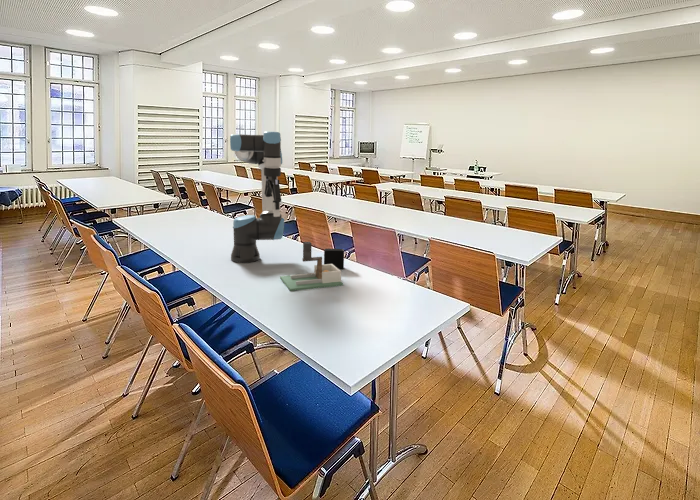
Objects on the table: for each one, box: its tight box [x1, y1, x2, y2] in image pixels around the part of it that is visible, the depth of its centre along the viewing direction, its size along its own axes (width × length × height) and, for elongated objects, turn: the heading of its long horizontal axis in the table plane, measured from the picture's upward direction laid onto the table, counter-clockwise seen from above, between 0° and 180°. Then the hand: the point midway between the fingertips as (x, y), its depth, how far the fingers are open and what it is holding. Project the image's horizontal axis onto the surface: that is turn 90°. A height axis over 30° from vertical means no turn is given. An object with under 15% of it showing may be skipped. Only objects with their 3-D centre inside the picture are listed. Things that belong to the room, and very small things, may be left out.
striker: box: [301, 241, 323, 279], centre depth 202 cm, size 6×9×18 cm, turn 113°
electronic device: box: [323, 248, 345, 271], centre depth 225 cm, size 4×10×10 cm, turn 95°
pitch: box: [279, 263, 344, 292], centre depth 204 cm, size 18×25×6 cm
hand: (272, 213), depth 204 cm, fingers open, 13 cm apart
